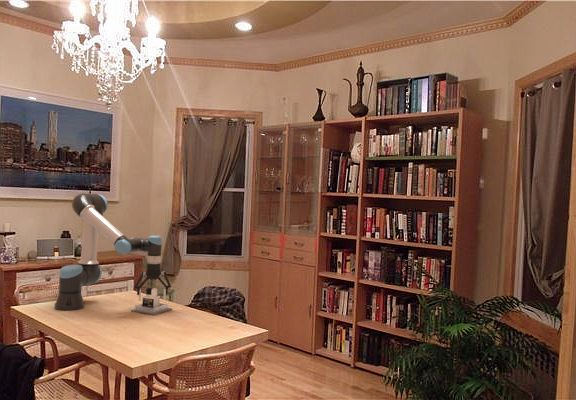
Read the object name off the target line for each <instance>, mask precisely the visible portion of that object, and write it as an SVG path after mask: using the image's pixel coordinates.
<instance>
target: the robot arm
mask: <svg viewBox="0 0 576 400" xmlns="http://www.w3.org/2000/svg"><path fill="white" fill-rule="evenodd" d="M71 208H72V211H74V213H75V215H77V216H78V217H79V218H80V219H83V228H82V241H81V242H82V243H81V252H80V254H81V255H80V260H79V261H77V264H68V265H65V266H62V267H61V268H60V270H59V273H58V274H59V275H58V276H59V280H58V281H59V282H58V295H57V298H56V300H55V303H54V309H55V310H58V311H75V310H80V309H84V307H85V301H84V298H83V294H82V291H83V290H82V289H83V288H82V287H86V286H91V285H93V284H96V283H98V282H99V281H100V280H101V278H102V275H103V271H102V268H101V266H100V262H99V261H98V260H97V258H98V243H99V236H100V235H99V233H100V234H101V235H102V236H104V238H106V239H107V240H108V241H109V242H110V243H111V244H112V245H113V246H114V249H115V252H116V253H118V254H120V255H123V254H124V255H126V254H129V253H130V254H131V253H138V252H142V253H147V256H146V260H147V261H146V262H147V264H146V271H143V270H142V271H140V275H139V276H138V278H137V280H136V282H135V283H134V286H133V288H134V289H136V295H137V296H138V302H141V298H142V297H141V296H142V289H141V288H142V287H143V286H144V285H145V284H146V283H147V282H148V281H149V280H157V279H158V281H159V282H160V283H161V284H162V285H163V286H164V288H163V297H162V299H163V301H166V295H168V293H169V291H168V290H169V289H170V288H172V285H171V283H170V281H169V278H168V276H167V272H166V271H165V270H164V271H161V267H162V264H161V262H162V246H163V244H162V243H163V239H162V236H161V235H149V236H148V237H147V238H142V237H130V238H128V237H127V236H126V235H124V233H123V232H122V231H120V230H119V229H118V228H117V227H116V226H114V225H113V224H112V223H111V222H110V221H109V220H108V219H107V218H106V217H104V213H105V212H106V211H107V210H108V200H107V199H106V198H105V196H104V195H103V194H99V193H98V194H97V193H83V192H81V193H79V194H76V195H75V196H74V198H73V199H72V201H71ZM161 275H162V276H163V277H164V280H165V281H166V283H165V281H164V280H163V279H162V278H161V277H160V276H161ZM145 276H146V277H145ZM143 277H144V279H143ZM142 279H143V280H142ZM141 280H142V281H141ZM140 282H141V283H140Z"/></svg>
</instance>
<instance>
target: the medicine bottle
mask: <svg viewBox="0 0 576 400" xmlns="http://www.w3.org/2000/svg"><path fill="white" fill-rule="evenodd" d="M160 303H161V296H160V295H158V288H156V287H148V288H146V290H145V295H144V296H142V303H141V304H142V306H145V307H152V308H155V307H158V306H160Z"/></svg>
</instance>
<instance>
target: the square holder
mask: <svg viewBox="0 0 576 400" xmlns="http://www.w3.org/2000/svg"><path fill="white" fill-rule="evenodd" d="M134 306H135V307H134V308H133V309H130V312H132V313H137V314H144V315H147V316H148V315H149V316H157V315H160V314H163V313H166V312H169V311H172V310H173V308H171V307H169V304H168V303H164V302H160V306H158V307H155V308H152V307H145V306H142V303H140V304H139V303H138V304H136V305H134Z"/></svg>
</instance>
